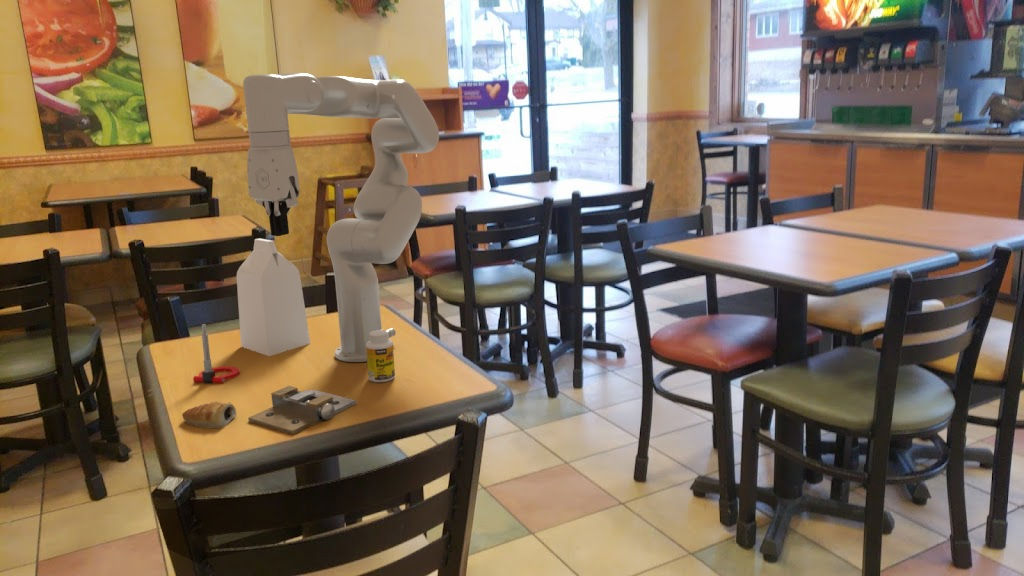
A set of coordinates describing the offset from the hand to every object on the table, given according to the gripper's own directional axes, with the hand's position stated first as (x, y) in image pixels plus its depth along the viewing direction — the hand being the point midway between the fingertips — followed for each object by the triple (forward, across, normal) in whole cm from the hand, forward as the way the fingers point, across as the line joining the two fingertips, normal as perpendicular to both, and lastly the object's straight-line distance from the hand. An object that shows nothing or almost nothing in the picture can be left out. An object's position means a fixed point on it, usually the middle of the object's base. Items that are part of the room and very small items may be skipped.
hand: (280, 234), depth 156 cm
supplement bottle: (+32, +13, +12) cm, 37 cm away
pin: (+32, +12, -9) cm, 35 cm away
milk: (+32, -26, +17) cm, 45 cm away
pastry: (+32, -1, -20) cm, 38 cm away
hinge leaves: (+32, +12, -9) cm, 35 cm away
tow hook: (+32, -20, -4) cm, 38 cm away
